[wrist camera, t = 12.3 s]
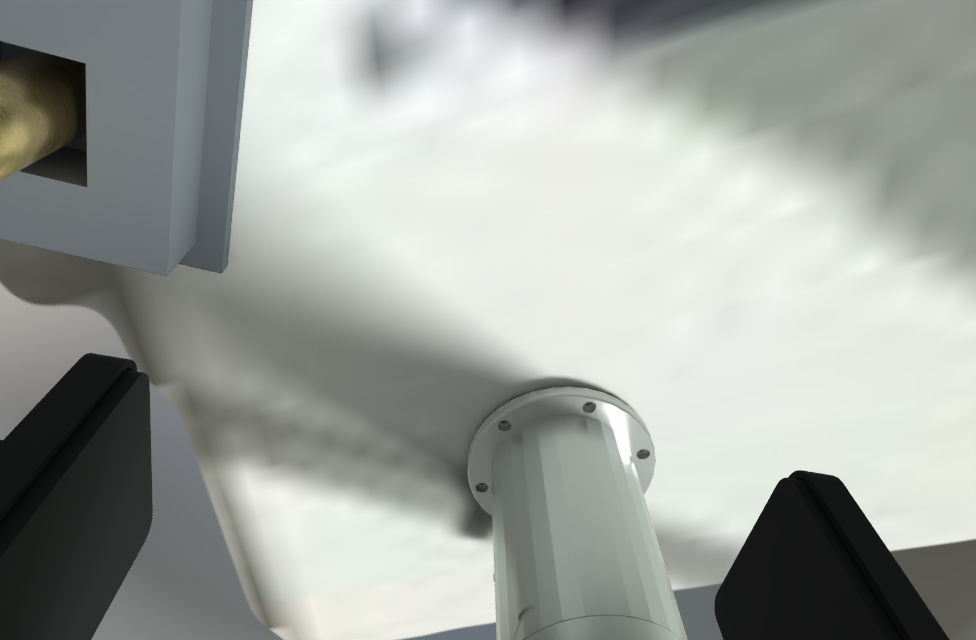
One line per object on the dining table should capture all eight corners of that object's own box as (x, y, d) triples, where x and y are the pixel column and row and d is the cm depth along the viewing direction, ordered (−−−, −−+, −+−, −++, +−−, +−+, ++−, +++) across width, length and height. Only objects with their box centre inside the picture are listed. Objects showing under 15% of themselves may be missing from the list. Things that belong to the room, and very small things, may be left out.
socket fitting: (227, 265, 39) (196, 308, 35) (-80, 195, 37) (-153, 232, 32) (256, -40, 31) (222, -34, 27) (-129, -155, 29) (-234, -168, 25)
